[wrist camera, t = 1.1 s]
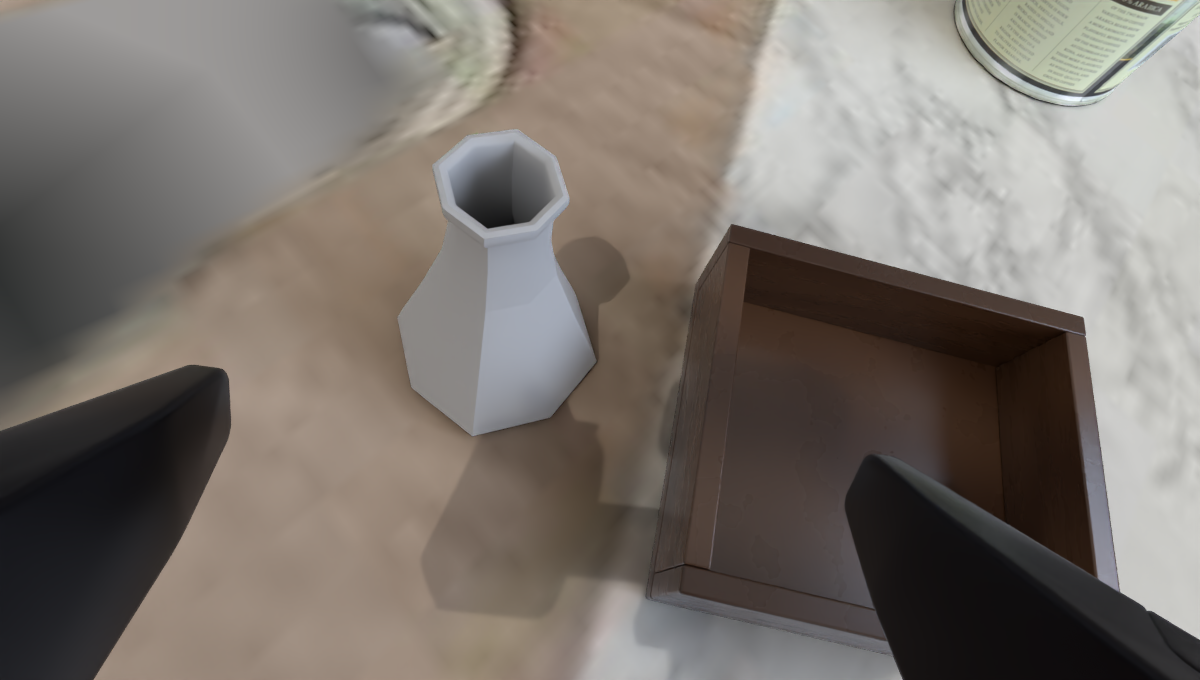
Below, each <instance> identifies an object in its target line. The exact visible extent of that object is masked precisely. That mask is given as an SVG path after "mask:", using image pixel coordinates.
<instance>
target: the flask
mask: <svg viewBox="0 0 1200 680" xmlns="http://www.w3.org/2000/svg"><path fill="white" fill-rule="evenodd" d="M432 166H433V174H434V178H435V183H436V187H437V191H438V195H439V199H440V204H441V208H442V212H443V215H444V217H445V218H446V219H447V220H448V224H447V228H446V233H445V237H444V241H443V246H442V249H441V251H440V252H439V254H438V256H437V257H436V259H435V261H434V262H433V264H432V266H431V267H430V269H429V271H428V272H427V274H426V276H425V277H424V279H423V281H422V282H421V284H420V285H419V287H418V288H417V289H416V291H415V292H414V294H413V295H412V296H411V298H410V299H409V300H408V302H407V303H406V305H405V306H404V307H403V309H402V311H401V312H400V314H399V316H398V317H397V318H398V323H399V328H400V333H401V338H402V343H403V348H404V353H405V359H406V364H407V369H408V374H409V379H410V384H411V388H412V389H414V390H415V391H416V392H417V393H419V394H420V395H421V396H422V397H424V398H425V399H426V400H427V401H429V402H430V403H431V404H432V405H434V406H435V407H436V408H437V409H439V410H440V411H441V412H442V413H444V414H445V415H446V416H448V417H449V418H450V419H451V420H453V421H454V422H455V423H456V424H458V425H459V426H460V427H461V428H463V429H464V430H465V431H466V432H468V433H469V434H470V435H471V436H476V435H480V434H484V433H488V432H492V431H496V430H501V429H505V428H509V427H513V426H517V425H521V424H526V423H530V422H534V421H538V420H542V419H546V418H550V417H551V416H552V415H553V414H554V413H555V411H556V410H557V409H558V408H559V407H560V405H561V404H562V403H563V402H564V400H565V399H566V398H567V397H568V396H569V394H570V393H571V392H572V391H573V390H574V388H575V387H576V386H577V385H578V384H579V382H580V381H581V380H582V379H583V378H584V376H585V375H586V374H587V373H588V372H589V370H590V369H591V368H592V367H593V365H594V364H595V363H596V362H597V361H596V358H595V355H594V351H593V348H592V345H591V342H590V338H589V335H588V332H587V329H586V325H585V322H584V319H583V316H582V312H581V309H580V306H579V303H578V299H577V296H576V294H575V292H574V290H573V288H572V287H571V285H570V283H569V282H568V280H567V278H566V277H565V275H564V273H563V272H562V270H561V268H560V266H559V264H558V262H557V260H556V258H555V256H554V254H553V249H552V243H551V236H552V228H553V221H554V220H555V219H556V218H557V217H558V216H559V215H560V214H561V213H562V212H563V211H564V210H565V209H566V207H567V206H568V204H569V195H568V192H567V189H566V186H565V183H564V179H563V176H562V173H561V170H560V167H559V164H558V161H557V158H556V156H554V155H553V154H552V153H550V152H549V151H547V150H546V149H545V148H543V147H542V146H540V145H539V144H538V143H536V142H535V141H533V140H532V139H530V138H529V137H528V136H526V135H525V134H523V133H522V132H521V131H519V130H518V129H513V130H505V131H497V132H489V133H481V134H473V135H467V136H466V137H465V138H464V139H463V140H461V141H460V142H459V143H458V144H457V145H455V146H454V147H453V148H452V149H451V150H450V151H448V152H447V153H446V154H445V155H444V156H442V157H441V158H440V159H439V160H438V161H437V162H435V163H434V164H433V165H432Z"/></svg>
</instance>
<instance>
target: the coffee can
mask: <svg viewBox="0 0 1200 680" xmlns="http://www.w3.org/2000/svg"><path fill="white" fill-rule="evenodd" d="M954 12H955V21H956V26H957V29H958V31H959V34H960V36H961V38H962V40H963V41H964V43H965V45H966V46H967V48H968V49H969V51H970V52H971V54H972V55H973V56H974V58H975V59H976V60H977V61H979V62H980V63H981V64H982V65H983V66H984V67H985V68H986V69H987V70H988V71H989V72H990V73H991V74H992V75H993V76H995V77H996V78H998V79H999V80H1001V81H1002V82H1004V83H1005V84H1007V85H1009V86H1010V87H1012V88H1014V89H1016V90H1017V91H1020V92H1022V93H1024V94H1026V95H1028V96H1031V97H1033V98H1035V99H1039V100H1043V101H1046V102H1050V103H1054V104H1059V105H1065V106H1081V105H1088V104H1092V103H1096V102H1098V101H1100V100H1102V99H1104V98H1105V97H1107V96H1108V95H1109V94H1111V93H1112V92H1113V91H1114V89H1115V88H1116V87H1117V86H1118V85H1119V84H1120V83H1122V82H1123V81H1124V80H1125V79H1126V78H1127V77H1128V76H1129V75H1130V74H1131V73H1132V72H1134V71H1135V70H1136V69H1137V68H1138V67H1139V66H1141V65H1142V64H1143V63H1144V62H1145V61H1146V60H1148V59H1149V58H1150V57H1151V56H1152V55H1153V54H1155V53H1156V52H1157V51H1158V50H1159V49H1160V48H1162V47H1163V46H1164V45H1165V44H1166V43H1167V42H1169V41H1170V40H1171V39H1172V38H1173V37H1175V36H1176V35H1177V34H1178V33H1179V32H1180V31H1182V30H1183V29H1184V28H1185V27H1186V26H1187V25H1188V24H1189V23H1191V22H1192V21H1193V20H1194V19H1195V18H1196V17H1198V16H1199V15H1200V0H956V3H955V8H954Z"/></svg>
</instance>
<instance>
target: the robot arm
mask: <svg viewBox="0 0 1200 680" xmlns="http://www.w3.org/2000/svg"><path fill="white" fill-rule="evenodd" d="M230 428H231V412H230V393H229V379H228V376H227V373H226V372H225V371H224V370H223V369H220V368H214V367H207V366H199V365H188V366H184V367H182V368H179V369H176V370H173V371H170V372H167V373H165V374H162V375H159V376H156V377H153V378H150V379H147V380H145V381H142V382H139V383H136V384H133V385H130V386H127V387H125V388H122V389H119V390H116V391H113V392H110V393H107V394H105V395H102V396H99V397H96V398H93V399H90V400H87V401H85V402H82V403H79V404H76V405H73V406H70V407H68V408H65V409H62V410H59V411H56V412H53V413H50V414H48V415H45V416H42V417H39V418H36V419H33V420H30V421H28V422H25V423H22V424H19V425H16V426H13V427H10V428H8V429H5V430H2V431H0V680H94V678H95V676H96V675H97V673H98V672H99V670H100V668H101V667H102V665H103V664H104V662H105V660H106V659H107V657H108V656H109V654H110V652H111V651H112V649H113V648H114V646H115V644H116V643H117V641H118V640H119V638H120V636H121V635H122V633H123V632H124V630H125V628H126V627H127V625H128V624H129V622H130V620H131V619H132V617H133V616H134V614H135V612H136V611H137V609H138V608H139V606H140V604H141V603H142V601H143V600H144V598H145V596H146V595H147V593H148V592H149V590H150V588H151V587H152V585H153V584H154V582H155V581H156V579H157V577H158V576H159V574H160V573H161V571H162V569H163V568H164V566H165V565H166V563H167V561H168V560H169V558H170V556H171V555H172V553H173V551H174V550H175V548H176V546H177V545H178V543H179V541H180V539H181V537H182V535H183V533H184V531H185V529H186V527H187V525H188V523H189V521H190V519H191V517H192V515H193V513H194V510H195V508H196V506H197V504H198V502H199V500H200V498H201V496H202V494H203V491H204V489H205V487H206V485H207V483H208V481H209V479H210V477H211V474H212V472H213V470H214V468H215V466H216V464H217V462H218V460H219V457H220V455H221V453H222V451H223V449H224V447H225V445H226V442H227V440H228V437H229V434H230ZM844 507H845V514H846V517H847V520H848V524H849V527H850V531H851V534H852V537H853V541H854V544H855V548H856V551H857V555H858V558H859V561H860V565H861V568H862V572H863V575H864V578H865V582H866V585H867V589H868V592H869V595H870V598H871V601H872V604H873V607H874V609H875V612H876V615H877V617H878V620H879V622H880V625H881V627H882V630H883V632H884V635H885V637H886V640H887V642H888V645H889V647H890V650H891V652H892V655H893V657H894V659H895V662H896V664H897V667H898V669H899V672H900V674H901V677H902V679H903V680H1200V640H1199V639H1197V638H1195V637H1194V636H1192V635H1190V634H1189V633H1187V632H1185V631H1184V630H1182V629H1180V628H1179V627H1177V626H1175V625H1174V624H1172V623H1170V622H1169V621H1167V620H1165V619H1164V618H1162V617H1160V616H1159V615H1157V614H1156V613H1154V612H1152V611H1146V609H1145V608H1144V607H1143V606H1142V605H1140V604H1139V603H1137V602H1135V601H1134V600H1132V599H1131V598H1129V597H1127V596H1126V595H1124V594H1122V593H1121V592H1119V591H1117V590H1116V589H1114V588H1112V587H1111V586H1109V585H1107V584H1106V583H1104V582H1102V581H1101V580H1099V579H1097V578H1096V577H1094V576H1093V575H1091V574H1089V573H1088V572H1086V571H1084V570H1083V569H1081V568H1079V567H1078V566H1076V565H1074V564H1073V563H1071V562H1069V561H1068V560H1066V559H1064V558H1063V557H1061V556H1059V555H1058V554H1056V553H1054V552H1053V551H1051V550H1050V549H1048V548H1046V547H1045V546H1043V545H1041V544H1040V543H1038V542H1036V541H1035V540H1033V539H1031V538H1030V537H1028V536H1026V535H1025V534H1023V533H1021V532H1020V531H1018V530H1016V529H1015V528H1013V527H1012V526H1010V525H1008V524H1007V523H1005V522H1003V521H1002V520H1000V519H998V518H997V517H995V516H993V515H992V514H990V513H988V512H987V511H985V510H983V509H982V508H980V507H978V506H977V505H975V504H974V503H972V502H970V501H969V500H967V499H965V498H964V497H962V496H960V495H959V494H957V493H955V492H954V491H952V490H950V489H949V488H947V487H945V486H944V485H942V484H940V483H939V482H937V481H935V480H934V479H932V478H931V477H929V476H927V475H926V474H924V473H922V472H921V471H919V470H917V469H916V468H914V467H912V466H911V465H909V464H907V463H906V462H904V461H902V460H901V459H899V458H897V457H894V456H889V455H881V454H870V455H867V456H866V457H865V458H864V459H863V461H862V462H861V464H860V466H859V469H858V471H857V473H856V475H855V477H854V479H853V481H852V483H851V485H850V487H849V489H848V492H847V494H846V497H845V503H844Z"/></svg>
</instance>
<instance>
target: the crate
mask: <svg viewBox="0 0 1200 680" xmlns="http://www.w3.org/2000/svg"><path fill="white" fill-rule="evenodd" d="M1085 336H1086V332H1085V325H1084V318H1083V317H1080V316H1077V315H1073V314H1069V313H1065V312H1062V311H1058V310H1054V309H1050V308H1046V307H1043V306H1039V305H1035V304H1031V303H1028V302H1024V301H1020V300H1016V299H1013V298H1009V297H1005V296H1001V295H998V294H994V293H990V292H986V291H982V290H979V289H975V288H971V287H967V286H964V285H960V284H956V283H952V282H949V281H945V280H941V279H937V278H933V277H930V276H926V275H922V274H918V273H915V272H911V271H907V270H903V269H900V268H896V267H892V266H888V265H885V264H881V263H877V262H873V261H869V260H866V259H862V258H858V257H854V256H851V255H847V254H843V253H839V252H836V251H832V250H828V249H824V248H821V247H817V246H813V245H809V244H805V243H802V242H798V241H794V240H790V239H787V238H783V237H779V236H775V235H772V234H768V233H764V232H760V231H756V230H753V229H749V228H745V227H741V226H738V225H734V224H731V226H730V228H729V229H728V231H727V233H726V234H725V236H724V238H723V239H722V241H721V243H720V244H719V246H718V248H717V249H716V251H715V253H714V254H713V256H712V258H711V259H710V261H709V263H708V264H707V266H706V268H705V269H704V271H703V273H702V274H701V277H700V278H699V280H698V281H697V283H696V287H695V293H694V299H693V305H692V312H691V318H690V324H689V330H688V336H687V343H686V349H685V355H684V361H683V367H682V374H681V380H680V386H679V392H678V399H677V405H676V411H675V417H674V423H673V430H672V436H671V442H670V448H669V454H668V461H667V467H666V473H665V479H664V485H663V492H662V498H661V504H660V510H659V517H658V523H657V529H656V535H655V541H654V548H653V554H652V560H651V566H650V572H649V579H648V585H647V591H646V598H647V599H648V600H652V601H657V602H661V603H665V604H670V605H674V606H678V607H683V608H687V609H691V610H696V611H700V612H704V613H709V614H713V615H717V616H722V617H726V618H731V619H735V620H739V621H744V622H748V623H752V624H757V625H761V626H765V627H770V628H774V629H778V630H783V631H787V632H791V633H796V634H800V635H804V636H809V637H813V638H817V639H822V640H826V641H830V642H835V643H839V644H843V645H848V646H852V647H856V648H861V649H865V650H869V651H874V652H878V653H882V654H887V655H891V656H893V655H892V652H891V650H890V647H889V645H888V642H887V640H886V637H885V635H884V632H883V630H882V627H881V625H880V622H879V620H878V617H877V615H876V612H875V609H874V607H873V604H872V601H871V598H870V595H869V592H868V589H867V585H866V582H865V578H864V575H863V572H862V568H861V565H860V561H859V558H858V555H857V551H856V548H855V544H854V541H853V537H852V534H851V531H850V527H849V524H848V520H847V517H846V514H845V507H844V503H845V497H846V494H847V492H848V489H849V487H850V485H851V483H852V481H853V479H854V477H855V475H856V473H857V471H858V469H859V466H860V464H861V462H862V461H863V459H864V458H865V457H866V456H867V455H870V454H881V455H889V456H894V457H897V458H899V459H901V460H902V461H904V462H906V463H907V464H909V465H911V466H912V467H914V468H916V469H917V470H919V471H921V472H922V473H924V474H926V475H927V476H929V477H931V478H932V479H934V480H935V481H937V482H939V483H940V484H942V485H944V486H945V487H947V488H949V489H950V490H952V491H954V492H955V493H957V494H959V495H960V496H962V497H964V498H965V499H967V500H969V501H970V502H972V503H974V504H975V505H977V506H978V507H980V508H982V509H983V510H985V511H987V512H988V513H990V514H992V515H993V516H995V517H997V518H998V519H1000V520H1002V521H1003V522H1005V523H1007V524H1008V525H1010V526H1012V527H1013V528H1015V529H1016V530H1018V531H1020V532H1021V533H1023V534H1025V535H1026V536H1028V537H1030V538H1031V539H1033V540H1035V541H1036V542H1038V543H1040V544H1041V545H1043V546H1045V547H1046V548H1048V549H1050V550H1051V551H1053V552H1054V553H1056V554H1058V555H1059V556H1061V557H1063V558H1064V559H1066V560H1068V561H1069V562H1071V563H1073V564H1074V565H1076V566H1078V567H1079V568H1081V569H1083V570H1084V571H1086V572H1088V573H1089V574H1091V575H1093V576H1094V577H1096V578H1097V579H1099V580H1101V581H1102V582H1104V583H1106V584H1107V585H1109V586H1111V587H1112V588H1114V589H1116V590H1117V591H1119V592H1120V589H1119V582H1118V574H1117V567H1116V559H1115V552H1114V544H1113V537H1112V529H1111V522H1110V514H1109V507H1108V499H1107V492H1106V484H1105V477H1104V469H1103V462H1102V455H1101V447H1100V440H1099V432H1098V425H1097V417H1096V410H1095V402H1094V395H1093V387H1092V380H1091V372H1090V365H1089V357H1088V350H1087V343H1086V337H1085Z"/></svg>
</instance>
